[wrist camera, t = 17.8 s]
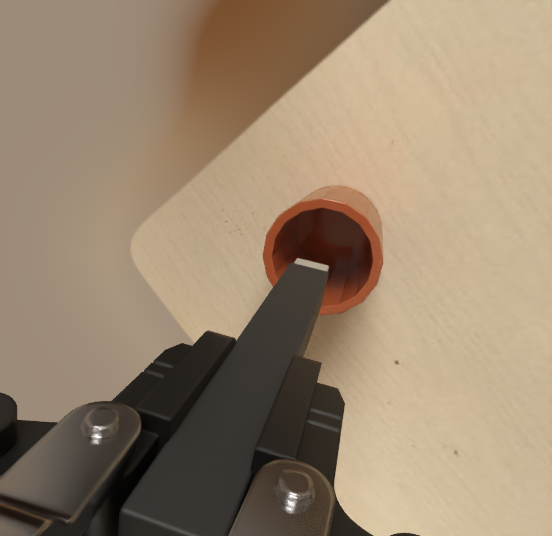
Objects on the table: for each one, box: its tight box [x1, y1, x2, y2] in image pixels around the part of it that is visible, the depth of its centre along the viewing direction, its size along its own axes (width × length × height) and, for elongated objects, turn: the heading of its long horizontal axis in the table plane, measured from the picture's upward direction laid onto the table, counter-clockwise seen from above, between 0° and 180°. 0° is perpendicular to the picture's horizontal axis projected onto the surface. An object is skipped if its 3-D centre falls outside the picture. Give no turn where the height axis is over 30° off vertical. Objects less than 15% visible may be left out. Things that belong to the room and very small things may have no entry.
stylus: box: [118, 258, 329, 536], centre depth 12 cm, size 2×2×13 cm
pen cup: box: [263, 186, 383, 315], centre depth 26 cm, size 6×6×8 cm
